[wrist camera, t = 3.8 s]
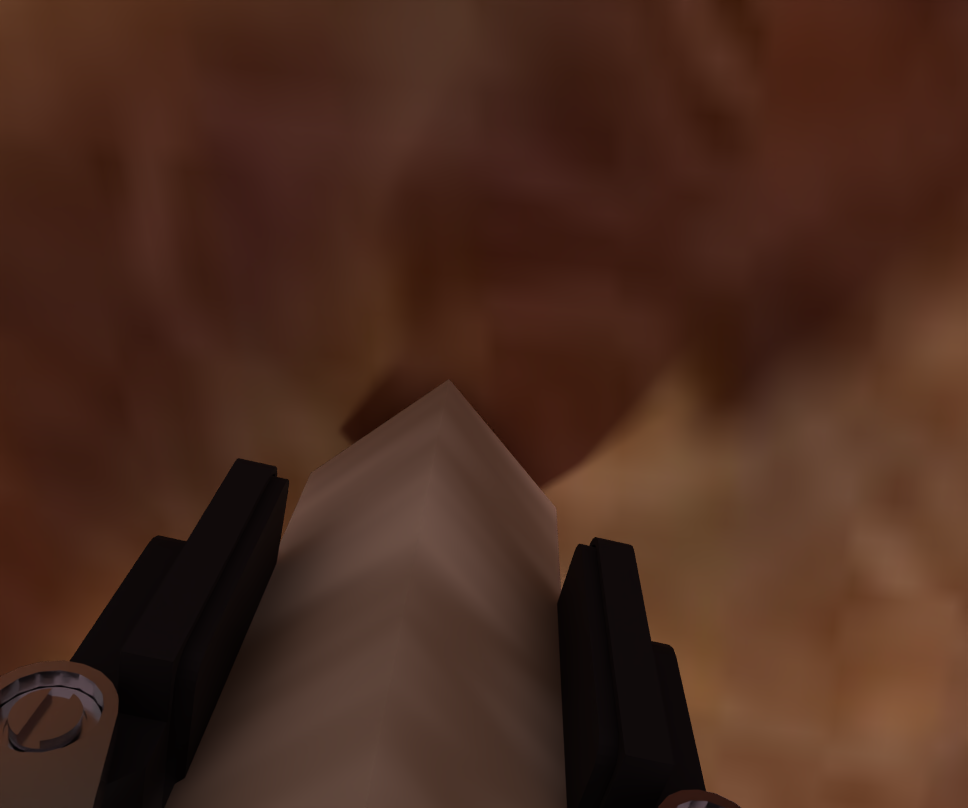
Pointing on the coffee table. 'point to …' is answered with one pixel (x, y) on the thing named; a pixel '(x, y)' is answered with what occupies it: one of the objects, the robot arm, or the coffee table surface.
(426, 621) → the birch stick
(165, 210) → the coffee table surface
